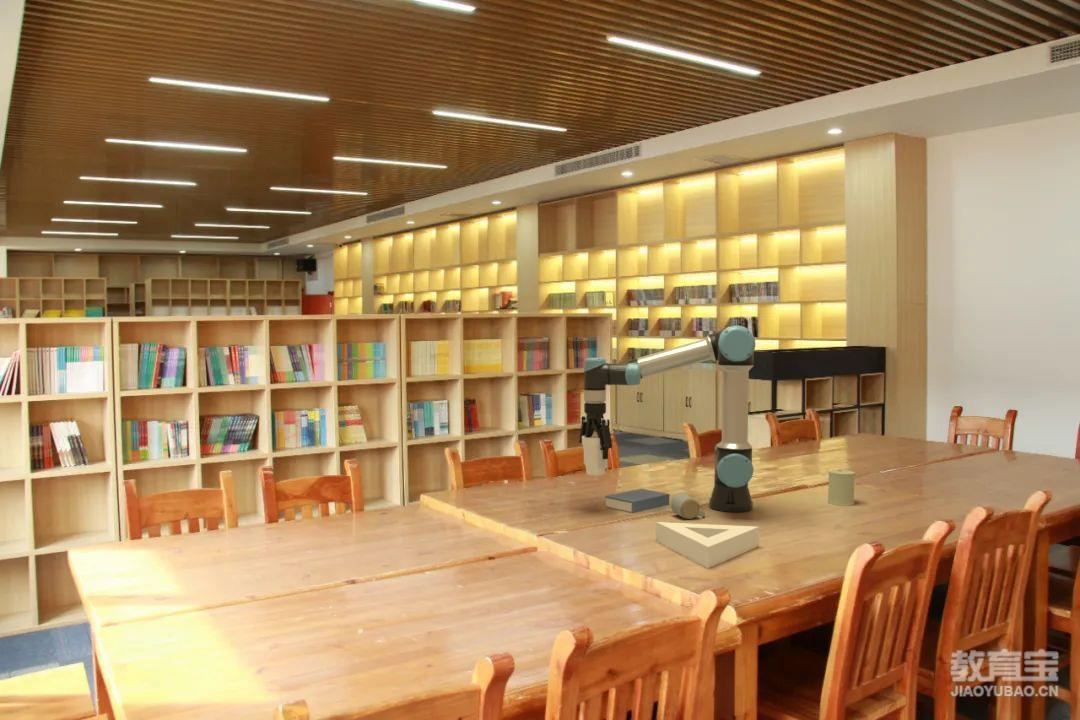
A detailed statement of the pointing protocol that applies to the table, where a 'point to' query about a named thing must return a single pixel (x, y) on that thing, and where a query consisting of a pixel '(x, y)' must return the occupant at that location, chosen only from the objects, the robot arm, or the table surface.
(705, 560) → the triangle block
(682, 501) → the ceramic mug
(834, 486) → the can
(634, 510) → the book
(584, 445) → the foam cup
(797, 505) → the table surface
